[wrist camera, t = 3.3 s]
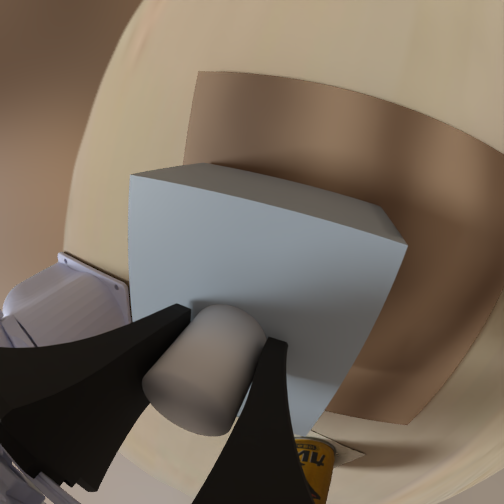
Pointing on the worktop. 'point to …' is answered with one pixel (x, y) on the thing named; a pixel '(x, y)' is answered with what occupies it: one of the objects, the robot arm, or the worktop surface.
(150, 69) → the worktop surface
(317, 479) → the condiment
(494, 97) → the worktop surface
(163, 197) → the cover
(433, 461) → the worktop surface
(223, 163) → the board
